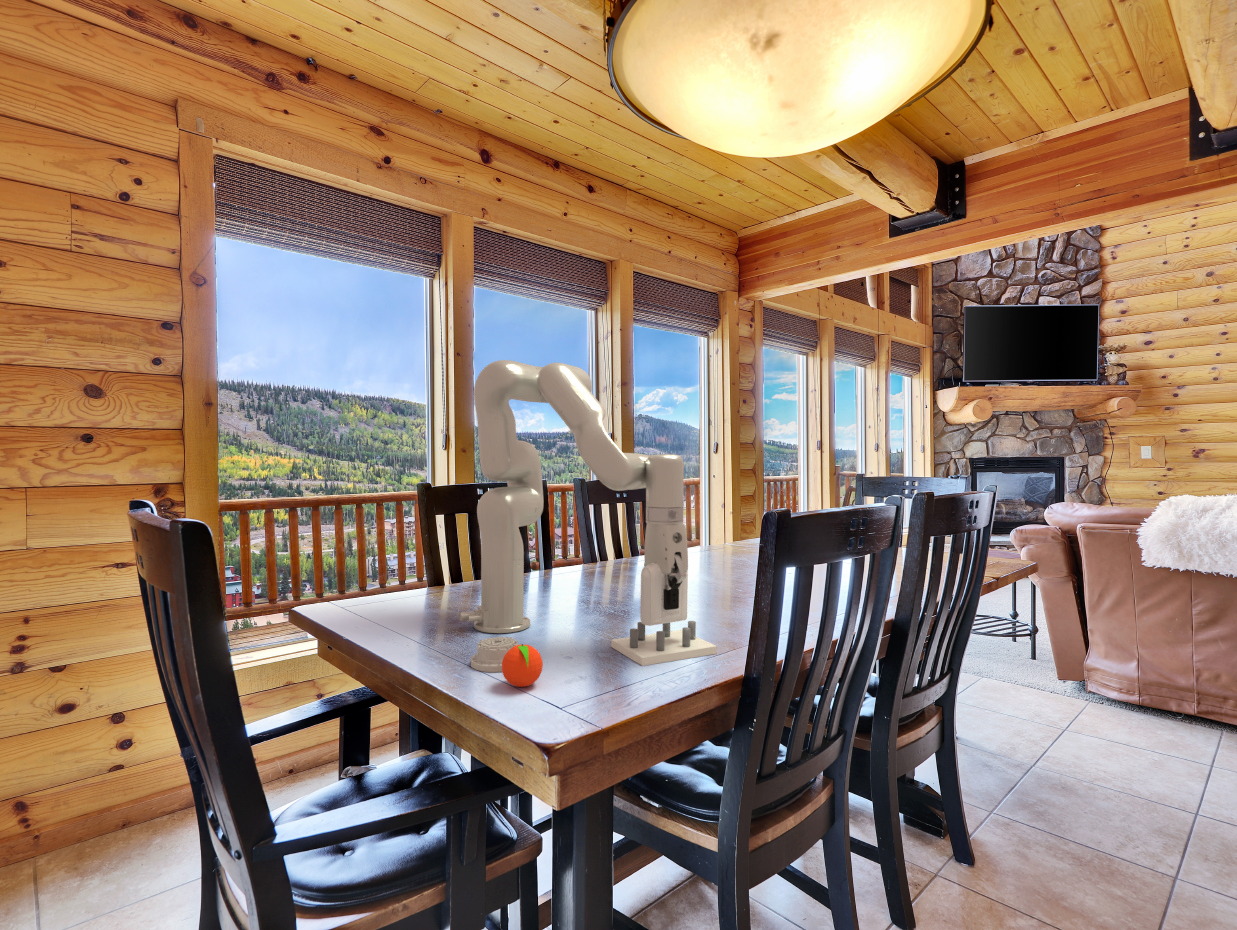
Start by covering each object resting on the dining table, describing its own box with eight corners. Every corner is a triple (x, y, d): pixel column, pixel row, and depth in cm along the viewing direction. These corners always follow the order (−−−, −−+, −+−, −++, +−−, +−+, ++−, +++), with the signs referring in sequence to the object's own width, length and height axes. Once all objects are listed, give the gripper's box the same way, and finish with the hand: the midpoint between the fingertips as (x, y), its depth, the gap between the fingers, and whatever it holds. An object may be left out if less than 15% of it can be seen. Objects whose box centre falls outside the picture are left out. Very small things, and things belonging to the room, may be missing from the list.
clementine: (548, 692, 107) (549, 650, 107) (506, 697, 105) (507, 654, 105) (537, 676, 115) (537, 636, 114) (498, 681, 112) (498, 640, 112)
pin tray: (642, 665, 121) (642, 639, 121) (611, 647, 132) (611, 622, 132) (716, 653, 129) (717, 628, 128) (681, 636, 140) (681, 613, 140)
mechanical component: (459, 667, 120) (499, 677, 115) (459, 643, 120) (499, 653, 114) (496, 653, 128) (535, 662, 123) (496, 631, 128) (535, 639, 123)
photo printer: (677, 616, 135) (677, 557, 135) (690, 620, 131) (691, 560, 131) (636, 623, 129) (637, 561, 129) (649, 628, 126) (649, 564, 125)
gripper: (704, 518, 124) (703, 613, 124) (659, 511, 139) (658, 596, 139) (671, 520, 121) (670, 617, 121) (628, 512, 136) (628, 599, 136)
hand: (664, 605), depth 130 cm, fingers closed on photo printer, 4 cm apart
